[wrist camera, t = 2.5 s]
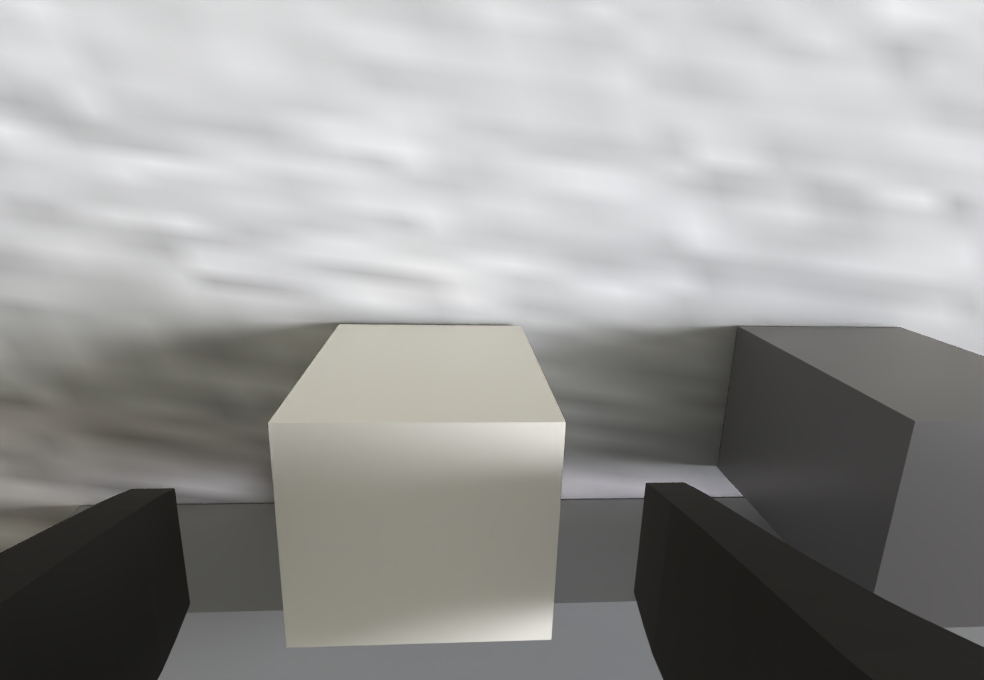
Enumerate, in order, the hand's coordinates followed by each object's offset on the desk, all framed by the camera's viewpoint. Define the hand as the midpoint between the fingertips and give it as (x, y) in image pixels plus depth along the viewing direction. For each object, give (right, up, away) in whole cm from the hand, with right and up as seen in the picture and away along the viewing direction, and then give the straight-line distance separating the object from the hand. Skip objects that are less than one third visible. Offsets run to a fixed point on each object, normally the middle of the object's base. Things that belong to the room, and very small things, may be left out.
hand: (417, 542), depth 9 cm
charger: (0, 0, +6) cm, 6 cm away
